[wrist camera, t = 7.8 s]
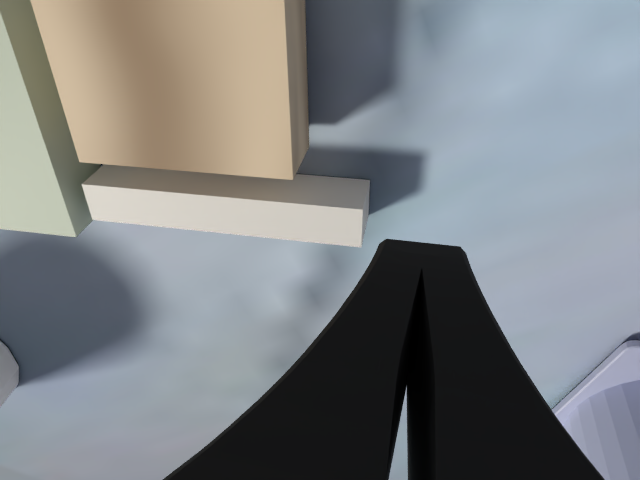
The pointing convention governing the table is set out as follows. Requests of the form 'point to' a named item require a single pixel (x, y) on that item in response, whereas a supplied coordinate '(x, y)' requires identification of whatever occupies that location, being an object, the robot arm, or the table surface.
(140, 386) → the table surface
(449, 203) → the table surface
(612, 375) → the robot arm
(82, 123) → the tan block
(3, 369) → the white cup
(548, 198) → the table surface
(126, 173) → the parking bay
